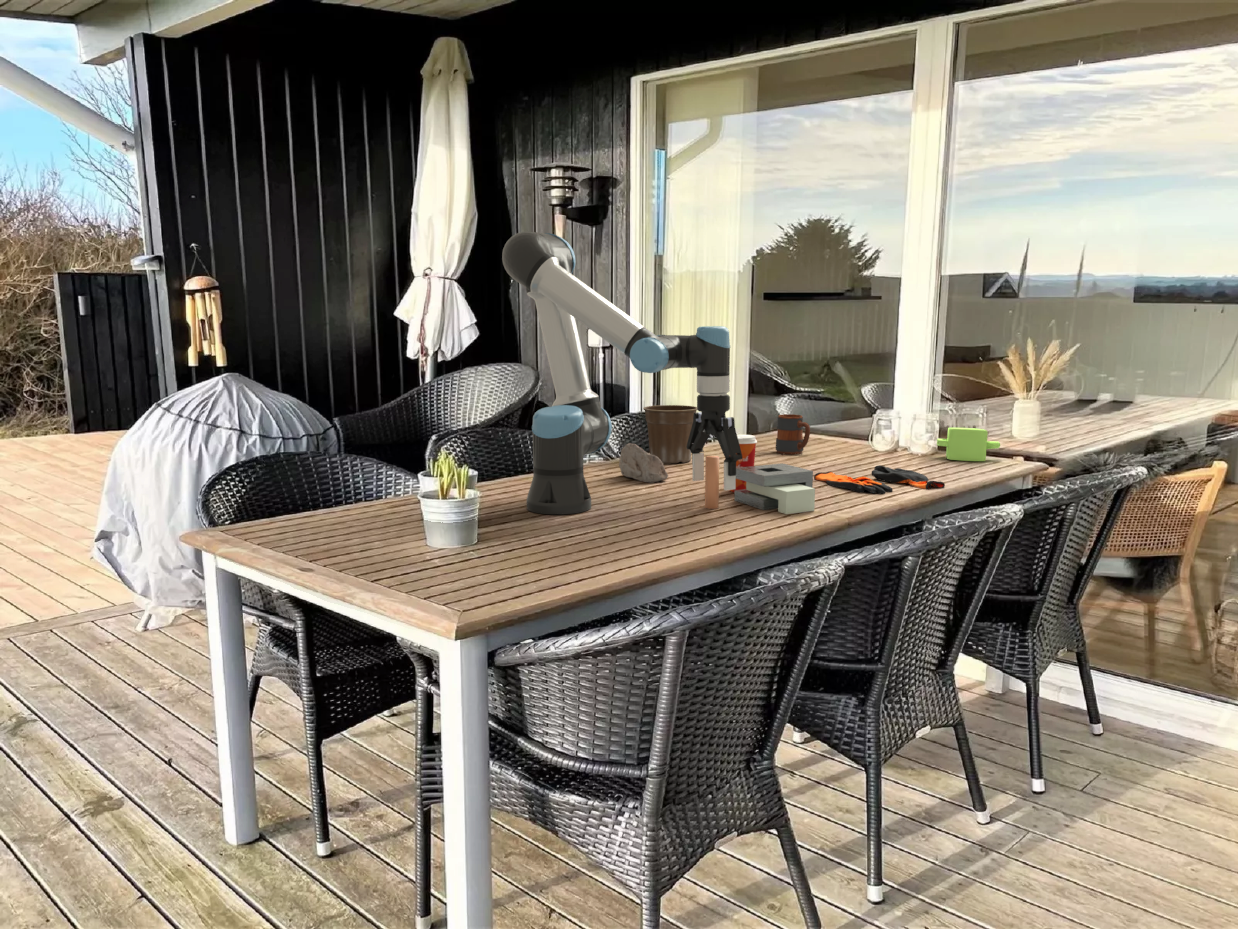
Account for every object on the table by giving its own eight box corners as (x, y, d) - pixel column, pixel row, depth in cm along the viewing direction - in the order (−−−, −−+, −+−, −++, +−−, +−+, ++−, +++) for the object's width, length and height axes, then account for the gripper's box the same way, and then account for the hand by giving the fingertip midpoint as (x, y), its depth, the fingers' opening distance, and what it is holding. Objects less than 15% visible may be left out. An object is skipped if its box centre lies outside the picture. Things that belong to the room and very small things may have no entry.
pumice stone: (671, 481, 263) (671, 444, 261) (649, 485, 258) (649, 447, 257) (634, 473, 275) (634, 438, 273) (613, 477, 270) (613, 441, 268)
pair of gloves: (865, 498, 244) (866, 484, 243) (808, 481, 266) (808, 468, 265) (951, 489, 255) (952, 476, 254) (889, 473, 277) (890, 461, 276)
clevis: (763, 510, 228) (764, 476, 227) (734, 500, 239) (734, 467, 237) (811, 504, 234) (813, 470, 233) (781, 495, 245) (782, 463, 244)
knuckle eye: (786, 514, 224) (786, 491, 223) (746, 501, 238) (746, 480, 237) (814, 510, 227) (815, 488, 226) (773, 498, 241) (773, 477, 241)
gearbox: (996, 459, 300) (999, 428, 299) (1001, 463, 291) (1004, 431, 289) (935, 455, 304) (937, 425, 303) (937, 459, 295) (940, 428, 293)
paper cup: (719, 491, 250) (720, 436, 248) (737, 486, 256) (738, 433, 253) (744, 495, 245) (745, 439, 242) (762, 490, 250) (763, 436, 248)
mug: (799, 457, 301) (800, 419, 299) (769, 452, 310) (770, 415, 308) (817, 454, 307) (818, 416, 305) (787, 449, 316) (788, 413, 314)
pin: (709, 509, 229) (710, 458, 227) (702, 506, 232) (702, 456, 230) (721, 508, 230) (722, 457, 228) (713, 505, 233) (714, 455, 231)
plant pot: (646, 455, 304) (646, 403, 302) (698, 456, 302) (699, 404, 299) (640, 464, 289) (640, 410, 286) (695, 466, 286) (696, 410, 284)
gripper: (758, 397, 217) (757, 491, 221) (698, 389, 239) (699, 475, 243) (729, 399, 214) (729, 495, 217) (671, 390, 236) (672, 478, 239)
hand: (713, 485), depth 230 cm, fingers open, 13 cm apart
